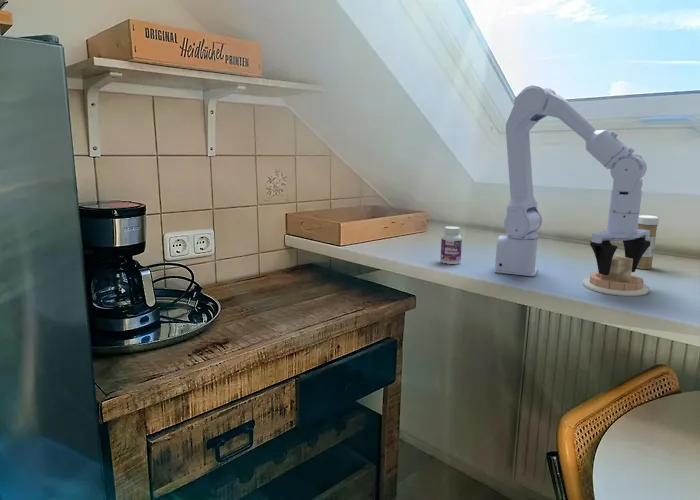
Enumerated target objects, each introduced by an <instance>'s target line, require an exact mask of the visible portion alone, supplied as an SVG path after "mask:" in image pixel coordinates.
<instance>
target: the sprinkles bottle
mask: <svg viewBox="0 0 700 500" xmlns="http://www.w3.org/2000/svg"><path fill="white" fill-rule="evenodd" d="M659 219H660V217H658V216H656V215H650V214H649V215H647V214H643V215H639V219H638V226H637V229H644V230H649V231H650V237H649V239H645V240H647V241H650V242H651V243H650V246H649V247H648V248H647V250H646V251H645V252H644V254H643V255H642V257H641V259H640V261H639V263H638V265H637V268H636V269H640V270H651V269H652V268H653V259H654V253H655V247H656V239H657V230H658V229H657V228H658V225H659Z"/></svg>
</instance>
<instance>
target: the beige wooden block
mask: <svg viewBox="0 0 700 500" xmlns="http://www.w3.org/2000/svg"><path fill="white" fill-rule="evenodd" d="M632 264H633V259H631V258H627V257H625V256H622V255H619V254H616V255H615V254H614V255H613V258H612V262H611V267H610V272H609V274H608V275H603V274H602V279H603V280H608V281H613V282H622V283H624V282H630V280H631V275H632V273H633V272H632Z"/></svg>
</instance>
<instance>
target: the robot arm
mask: <svg viewBox="0 0 700 500" xmlns="http://www.w3.org/2000/svg"><path fill="white" fill-rule="evenodd" d="M546 117H552V118H556V119H560V121H561V122H562V123H564V124H565V125H566V126H567V127H569V128H570V129H571V130H572V131H574V132H575V133H576V134H577V135H578V136H579V137H581V139H582V140H584V142H585V150H586V151H587V153H588V154H590V155H591V156H592V157H593V158H594V159H596V161H598V162H599V163H600V164H601V165H602V166H603V167H604V168H606V170H610V176H611V177H612V181H613V182H612V189H611V193H610V202H609V208H608V210H609V211H608V219H607V227H606V230H602V231H598V232H593V233H592V232H591V240H590V243H589V245H590V247H591V250H592V252H593V253H594V257H595V261H596V264H597V265H596V266H597V272H599V273H600V274H603V275H608V274H609V272H610V267H611V262H612V258H613V256H615V254H616V251H617V249H618V247H619V246H617V245H616V244H615V245H614V244H612V243H611V242H620V241H622V243H623V248H624V257H627V258H631V259H633V264H632V272H631V273H635V272H636V270H637V269H638V268H637V265H638V263H639V261H640V259H641V257H642V255H643V254H644V252H645V251H646V250H647V248H648V247H649V246H650V243H651V242H650V241H647V240H645V239H649V237H650V231H649V230H644V229H637V227H638V219H639V216H640V211H641V202H642V195H643V190H642V188H643V179H642V178H643V177H644V176H645V175H646V172H647V162H646V161H645V160H644V158H643V157H642V155H639V154H635V153H634V152H635V149H634V148H632V147H628V146H627V145H625V144H624V143H623V142H622V141H621V140H620V139H618V138H617V137H618V135H619V134H618V133H617V132H616V131H614V130H612V131H609V129H597V128H596V127H595V126H594V125H593V124H592V123H591V122H590V121H589V119H587V118H586V117H585V116H584V115H583V114H582V113H581V112H580V111H579V110H578V109H577V108H576V107H575V106H574V105H573V104H572V103H571V102H570V101H568V100H567V99H566V98H564V97H563V96H561V95H560V94H557V93H556V92H555V91H554V89H551V88H546V87H545V88H544V87H541V86H539V85H536V84H535V85H534V84H533V85H529V86H526V87H525V88H523V89H522V90H521V91H520V93H518V94H517V96H516V97H514V100H513V106H512V109H511V111H510V114H509V116H508V118H507V121H506V124H505V136H506V138H505V139H506V150H507V152H506V153H507V163H508V164H507V165H508V166H507V167H508V177H509V178H508V179H509V192H510V193H509V194H510V199H509V202H508V204H507V207H506V216H505V219H504V222H503V227H504V230H505V232H506V235H499V236H498V238H497V241H496V249H495V251H496V252H495V253H496V254H495V261H494V262H495V266H494V267H495V268H494V273H498V274H508V275H509V274H510V275H517V276H525V277H536V274H537V273H538V270H539V267H537V266H536V264H537V263H536V262H537V250H538V249H537V248H538V237H539V235H538V232H537V231H538V230H539V229H540V228H541V227H542V226H543V225H542V223H543V217H542V215H541V213H540V211H539V209H538V202H537V201H536V198H535V196H534V187H533V185H534V184H533V172H532V171H533V169H532V156H531V155H532V154H531V141H530V140H531V139H530V131H531V130H532V129H533V128H534V126H536V124H537V123H538V122H539V121H541V120H542V119H544V118H546ZM633 153H634V154H633Z"/></svg>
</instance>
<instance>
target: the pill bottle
mask: <svg viewBox="0 0 700 500" xmlns="http://www.w3.org/2000/svg"><path fill="white" fill-rule="evenodd" d="M460 232H461V228H460V227H459V226H452V225H451V226H449V225H448V226H445V227H444V234H442V236H441V243H440V244H441V245H440V263H442V262H443V263H442V264H444V263H447V264H446V265H450V264H455V265H459V264H460V263H461V260H462V258H461V257H462V243H463V238H462V235H460ZM458 263H459V264H458Z"/></svg>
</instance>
